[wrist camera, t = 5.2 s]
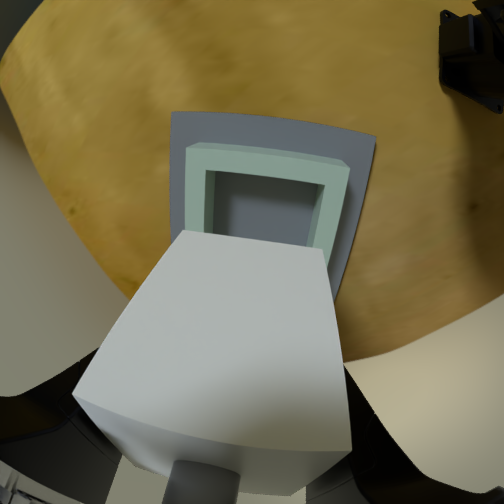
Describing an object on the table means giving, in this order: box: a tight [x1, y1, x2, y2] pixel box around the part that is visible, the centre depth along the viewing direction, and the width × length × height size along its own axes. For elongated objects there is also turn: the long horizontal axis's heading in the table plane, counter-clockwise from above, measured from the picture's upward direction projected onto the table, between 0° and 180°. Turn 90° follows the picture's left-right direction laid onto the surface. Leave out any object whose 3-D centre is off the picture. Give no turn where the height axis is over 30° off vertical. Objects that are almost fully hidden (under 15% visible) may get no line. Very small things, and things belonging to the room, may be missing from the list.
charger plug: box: [72, 230, 352, 504], centre depth 7 cm, size 5×5×8 cm
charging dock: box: [170, 112, 376, 303], centre depth 18 cm, size 13×13×3 cm
